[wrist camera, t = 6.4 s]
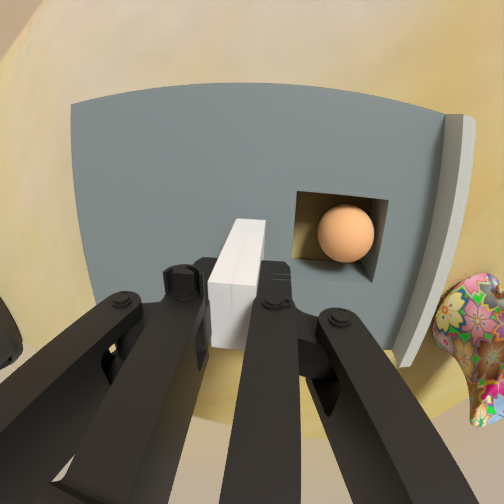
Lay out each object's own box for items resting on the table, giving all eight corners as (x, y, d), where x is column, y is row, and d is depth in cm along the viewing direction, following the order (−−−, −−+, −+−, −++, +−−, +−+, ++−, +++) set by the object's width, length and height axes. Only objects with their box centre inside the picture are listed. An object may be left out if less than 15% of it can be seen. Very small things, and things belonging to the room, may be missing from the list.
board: (118, 306, 23) (91, 340, 19) (95, 105, 16) (51, 104, 12) (391, 326, 22) (410, 366, 17) (434, 118, 15) (476, 119, 10)
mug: (475, 343, 22) (517, 413, 13) (411, 348, 23) (448, 438, 13) (518, 241, 17) (589, 298, 8) (455, 228, 18) (542, 300, 8)
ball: (310, 267, 17) (369, 276, 16) (318, 208, 15) (381, 217, 14) (317, 245, 20) (366, 253, 19) (323, 195, 18) (375, 203, 17)
